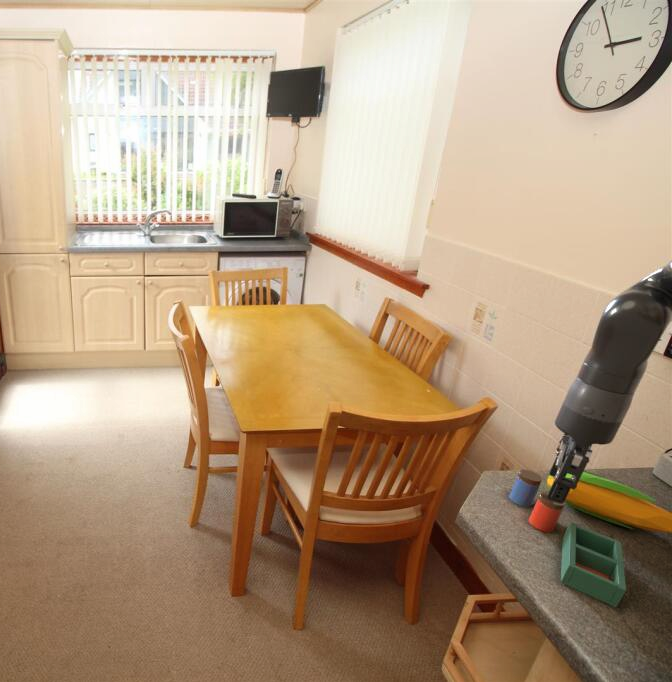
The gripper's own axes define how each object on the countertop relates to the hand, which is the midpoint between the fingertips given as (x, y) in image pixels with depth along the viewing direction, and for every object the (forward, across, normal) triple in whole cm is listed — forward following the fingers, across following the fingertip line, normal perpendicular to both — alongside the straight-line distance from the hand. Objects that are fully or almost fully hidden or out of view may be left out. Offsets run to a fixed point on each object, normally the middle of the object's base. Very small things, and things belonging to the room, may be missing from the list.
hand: (555, 488), depth 83 cm
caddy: (+8, -7, -7) cm, 13 cm away
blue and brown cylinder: (+8, +6, +3) cm, 10 cm away
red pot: (+8, 0, 0) cm, 8 cm away
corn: (+8, +12, -10) cm, 17 cm away
